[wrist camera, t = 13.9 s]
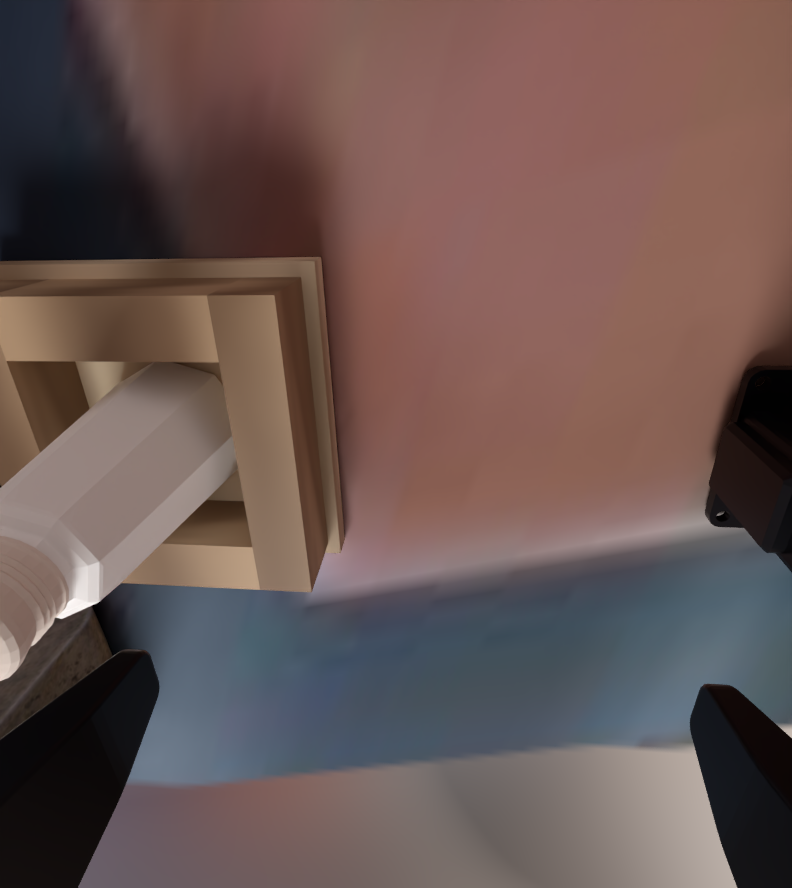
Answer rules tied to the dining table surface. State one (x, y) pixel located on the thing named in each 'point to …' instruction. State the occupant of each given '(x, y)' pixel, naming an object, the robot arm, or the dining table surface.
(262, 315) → the socket holder
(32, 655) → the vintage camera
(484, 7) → the dining table surface
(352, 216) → the dining table surface
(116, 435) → the pepper shaker
